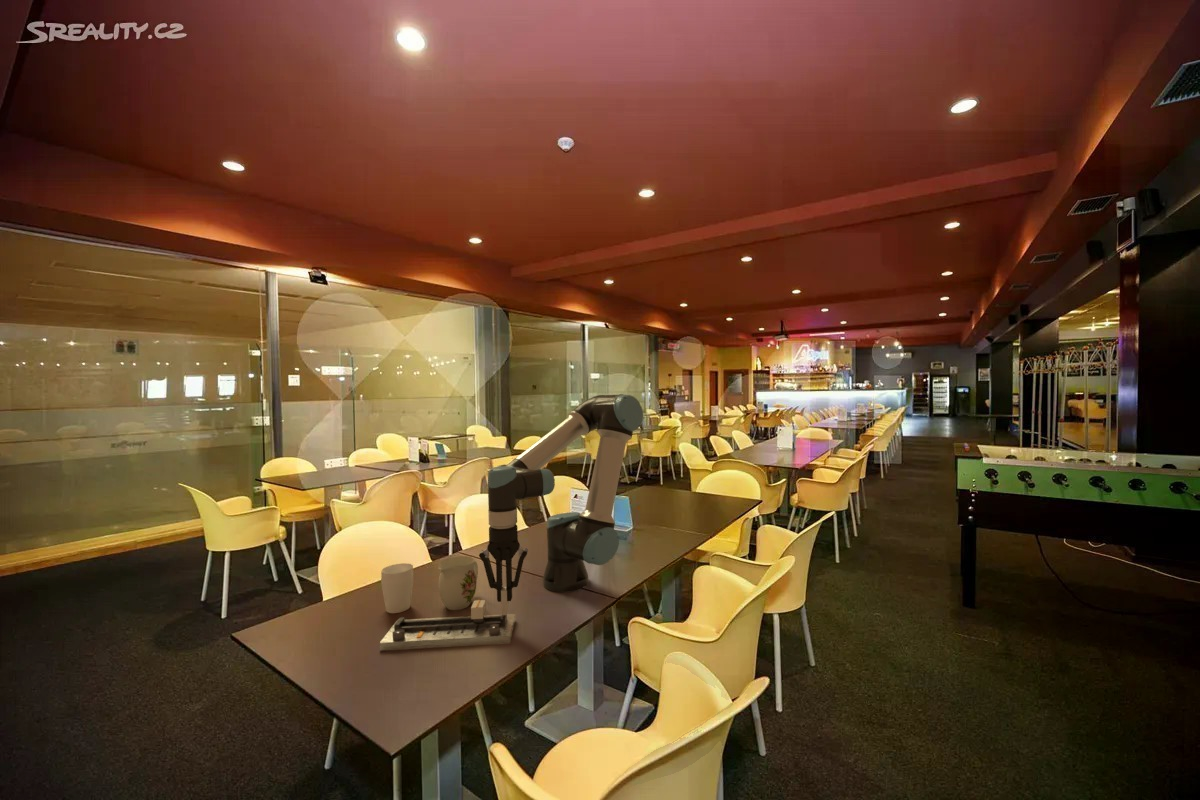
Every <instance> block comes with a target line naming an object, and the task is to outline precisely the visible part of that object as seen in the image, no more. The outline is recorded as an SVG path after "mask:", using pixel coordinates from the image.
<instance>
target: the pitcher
mask: <svg viewBox="0 0 1200 800" xmlns="http://www.w3.org/2000/svg"><path fill="white" fill-rule="evenodd" d="M438 563H439V565H438V567H437V569H438V571H440V574H439V577H438V592H439V596H440V600H441V602H442V604H443V605H444V606H445V607H446V609H448V610H450V611H461V610H464V609H466V608H467V607H469V606H470V604H471V603H472V601H473V600H474V597H475V593H476V590H477V580H478V575H479V566H478V563H477V561H476V560H475V558H474V557H471V556H469V555H468V556H466V555H465V556H464V555H460V556H452V557H448V558H445V559H443V560H441V561H439V562H438Z"/></svg>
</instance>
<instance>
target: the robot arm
mask: <svg viewBox="0 0 1200 800" xmlns="http://www.w3.org/2000/svg"><path fill="white" fill-rule="evenodd" d="M643 420H644V411H643V407H642V406H641V403H640V401H639V399H637V398H636V397H635V396H633V395H631V394H623V393H620V394H599V395H595V396H592V397H591V398H588V399H586V400H584V401H583V402H581V403H580V404H579V405H577V406H576V407H574V409H572V410H571V411H570V412H568V413H567V415H566V418H565V419H563V421H561V422H560V423H559V424H557V425H556V426H555V427H554V428H552V429H550V431H548V432H547V433H545V435H543V436H542V437H541V438H540V439H539V440H537V441H536V442H535V443H533V444H532V445H531V446H530V447H528V448H527V449H525V450H524V451H523V452H521V453H520V454H519V455H518V456H516V457H515V458H514V459H513V460H511V461H510V462H509V463H508V464H500V465H497V466H494V467H493V466H492V467H491V468H490V469H489V470H488V474H487V484H486V486H487V496H488V497H487V499H488V501H487V503H488V525H489V527H488V545H487V546H486V548H485V549H484V550H483V549H482V550H481V551H480V552H479V554H478V556H479V559H480V560H481V562H483V566H484V570H485V573H486V578H487V581H488V586H489V588H490V589H494V590H496V598H497V599H496V600H497V601H496V602H498V603H499V602H500V604H501V605H500V607H501V610H500V611H501V614H500V615H507V614H509V602H512V599H513V588H517V587H518V585H519V583H520V578H521V574H522V569H523V563H524V560H525V558H526V557H527V555H528V552H529V550H528V548H523V547H522V546H521V545H520V542H519V540H518V539H519V538H518V537H519V535H518V533H519V532H518V531H519V530H518V525H517V523H518V501H521V500H527V499H531V498H533V499H534V498H537V497H538V498H539V497H543V496H546V495H549V494H551V493H552V492H553V491H554V489H555V486H556V483H555V479H556V478H555V476H554V474H553V472H552V471H551V470H550V469H549V468H543V467H544V466H546V465H547V464H549V462H551V461H552V460H553V459H554V458H555V457H557V456H558V455H559V454H561V453H562V451H564V450H565V449H566V448H567V447H569V446H570V445H571V444H572V443H574V442H575V441H576V440H577V439H579V437H581V436H583V437H584V436H587V435H588V434H590V432H592V431H595V430H596V432H597V434H598V435H599V437H600V438H599V442H598V447H597V451H596V452H597V453H596V456H595V462H594V467H593V471H592V476H591V481H590V485H589V489H588V490H589V491H588V495H587V500H586V504H585V510H584V511H582V512H573V511H571V512H562V513H557V514H553V515H550V516H549V517H548V518H547V521H546V522H547V523H546V537H547V539H546V541H547V542H546V543H547V544H546V545H547V561H546V562H547V563H546V567H545V570H544V573H543V576H542V577H543V578H542V585H543V587H544V588H545V589H546V590H549V591H552V592H558V593H569V592H570V593H571V592H575V591H578V590H579V591H580V590H582V589H584V588H586V587H587V586H588V584H589V573H588V570H587V567H586V565H585V562H586V563H587V564H591V565H596V566H604V565H605V564H606V565H607V563H609V561H611V560H612V559H613V558H614V557H615V556H616V554H617V552H618V550H619V546H620V538H619V536H618V535H619V534H618V532H617V531H616V529H615V525H616V521H615V520H614V518H613V516H612V515H613V510H614V505H615V500H616V496H617V495H616V494H617V491H618V486H619V480H620V474H621V470H622V465H623V459H624V455H625V450H626V445H627V442H629V441H630V440H632V437H633V435H634V434H633V433H634V432H635V431H637V430H639V428H640V427H641V426H642V424H643ZM516 553H517V555H518V557H519V558H518V560H517V566H516V571H515V576H514V579H513V568H512V567H513V566H512V565H513V564H512V563H513V562H512V560H513V558H514V556H516ZM490 555H491V556H492V557H493V559H495V569H496V570H495V571H496V575H494V571H493V567H492V563H491V560H490ZM503 561H505V578H506V579H505V582H506V586H503V584H504V583H503ZM495 576H496V578H495Z"/></svg>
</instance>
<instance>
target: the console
mask: <svg viewBox="0 0 1200 800" xmlns="http://www.w3.org/2000/svg"><path fill="white" fill-rule="evenodd" d="M515 624H516V614H515V613H508V614H507V615H501V614H486V615H485V614H484V622H480V623H474V620H473V619H471V615H469V616H468V615H467V616H449V617H448V616H447V617H428V618H410V619H407V618H405V616H404V617H403V616H401V617H399V618H398V619H397V620H396V621H395V622H394V623H393V625H392V626H391V627H390V629H389V630H388V632H387V633H386V634H385V635H384V637H383V638H382V639H381V640H380V642H379V652H382V651H399V650H402V651H403V650H417V649H418V650H419V649H433V648H435V649H436V648H452V647H453V648H454V647H469V646H470V647H471V646H486V645H488V646H489V645H507V644H511V641H512V640H511V639H512V637H513V632H514V628H515Z"/></svg>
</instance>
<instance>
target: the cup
mask: <svg viewBox="0 0 1200 800" xmlns="http://www.w3.org/2000/svg"><path fill="white" fill-rule="evenodd" d="M414 577H415V576H414V565H413V564H411V563H406V562H405V563H396V564H392V565H388V566H385V567H384V568H382V569H381V575H380V578H381V579H380V583H381V589H382V594H383V595H382V596H383V601H384V606H385V612H387V613H389V614H399V613H402V612H405V611H407V610H409V609H410V608H411V603H412V595H413V588H414V587H413V586H414V585H413V584H414V579H415V578H414Z"/></svg>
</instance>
